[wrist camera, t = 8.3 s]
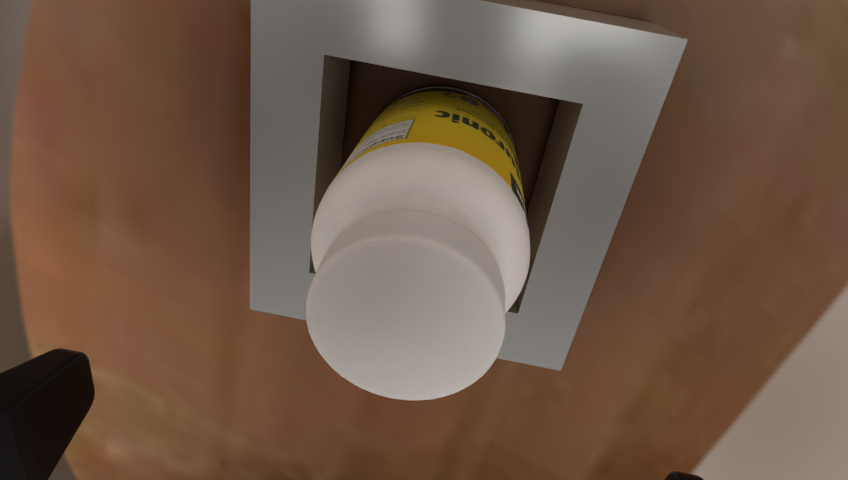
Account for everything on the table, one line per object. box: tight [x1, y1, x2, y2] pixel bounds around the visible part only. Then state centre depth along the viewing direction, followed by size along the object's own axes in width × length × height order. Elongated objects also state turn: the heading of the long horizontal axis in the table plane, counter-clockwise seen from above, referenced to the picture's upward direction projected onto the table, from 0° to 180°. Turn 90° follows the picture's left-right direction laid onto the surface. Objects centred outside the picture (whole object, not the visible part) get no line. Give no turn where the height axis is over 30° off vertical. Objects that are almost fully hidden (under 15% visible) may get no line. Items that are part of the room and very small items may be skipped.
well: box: [250, 0, 688, 371], centre depth 18 cm, size 11×11×4 cm
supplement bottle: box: [306, 86, 530, 400], centre depth 15 cm, size 5×5×10 cm
